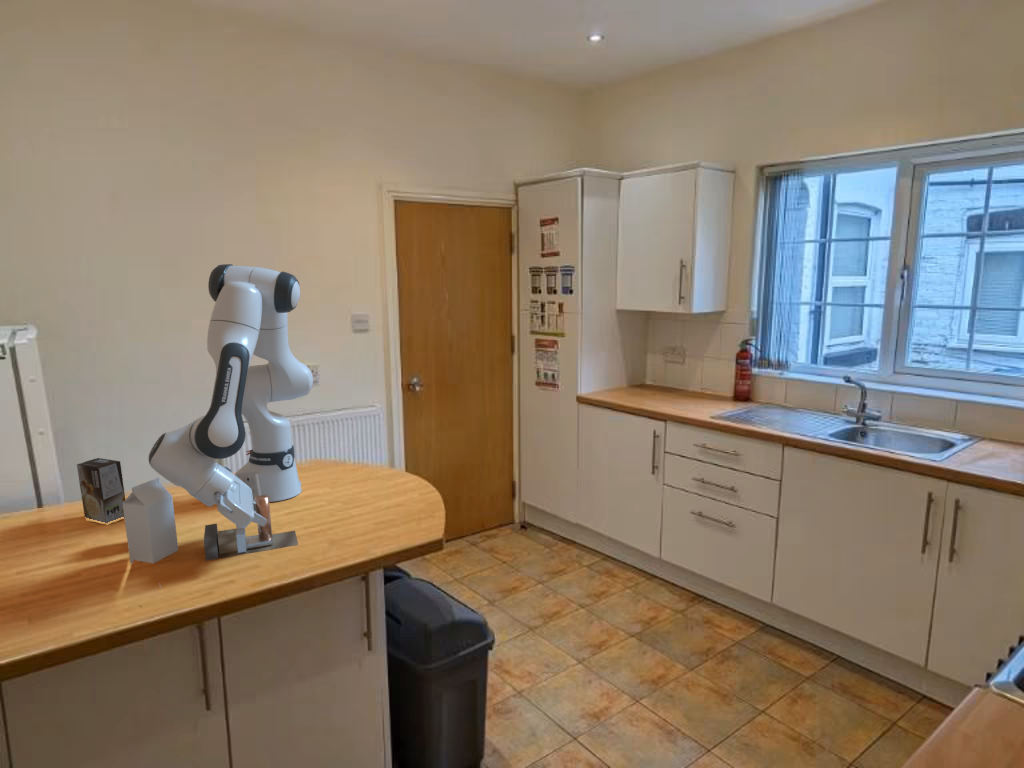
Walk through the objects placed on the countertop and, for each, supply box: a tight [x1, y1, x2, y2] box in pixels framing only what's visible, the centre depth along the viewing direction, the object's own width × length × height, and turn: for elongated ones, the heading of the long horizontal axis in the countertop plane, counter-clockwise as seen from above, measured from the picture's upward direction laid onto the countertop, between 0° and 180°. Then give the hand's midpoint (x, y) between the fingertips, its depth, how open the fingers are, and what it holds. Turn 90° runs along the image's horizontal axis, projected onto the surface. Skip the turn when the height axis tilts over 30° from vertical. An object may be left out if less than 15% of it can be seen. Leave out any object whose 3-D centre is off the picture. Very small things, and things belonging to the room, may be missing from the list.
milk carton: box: [123, 477, 179, 564], centre depth 147 cm, size 7×7×19 cm
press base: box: [203, 523, 299, 562], centre depth 153 cm, size 20×9×6 cm, turn 113°
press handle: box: [235, 495, 273, 553], centre depth 152 cm, size 8×8×11 cm
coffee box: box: [76, 457, 126, 523], centre depth 172 cm, size 9×6×16 cm
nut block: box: [218, 528, 238, 554], centre depth 151 cm, size 4×4×4 cm
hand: (264, 519), depth 153 cm, fingers closed on press handle, 3 cm apart
